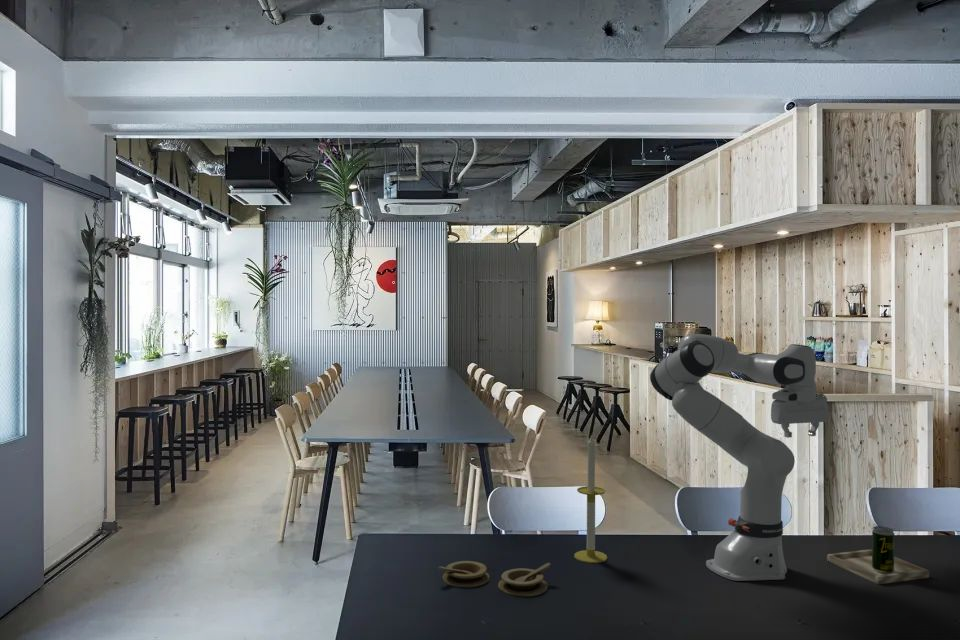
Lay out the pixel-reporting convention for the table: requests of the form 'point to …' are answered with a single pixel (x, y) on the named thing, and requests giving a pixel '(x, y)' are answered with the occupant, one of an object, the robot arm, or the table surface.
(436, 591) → the table surface
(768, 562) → the robot arm
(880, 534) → the beer can
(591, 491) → the candle
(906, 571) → the birch tray
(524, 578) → the tableware set
